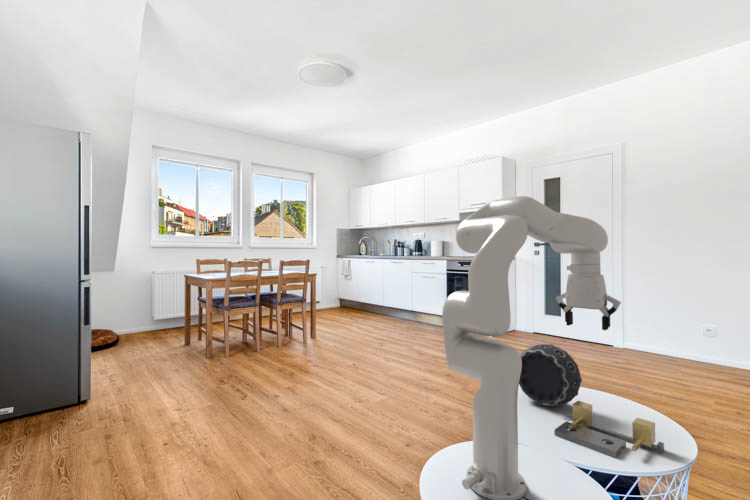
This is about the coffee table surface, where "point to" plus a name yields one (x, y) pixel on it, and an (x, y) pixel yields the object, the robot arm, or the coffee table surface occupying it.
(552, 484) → the coffee table surface
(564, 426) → the flange plate
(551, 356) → the dark grey wheel
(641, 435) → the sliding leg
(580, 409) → the dividers bar
